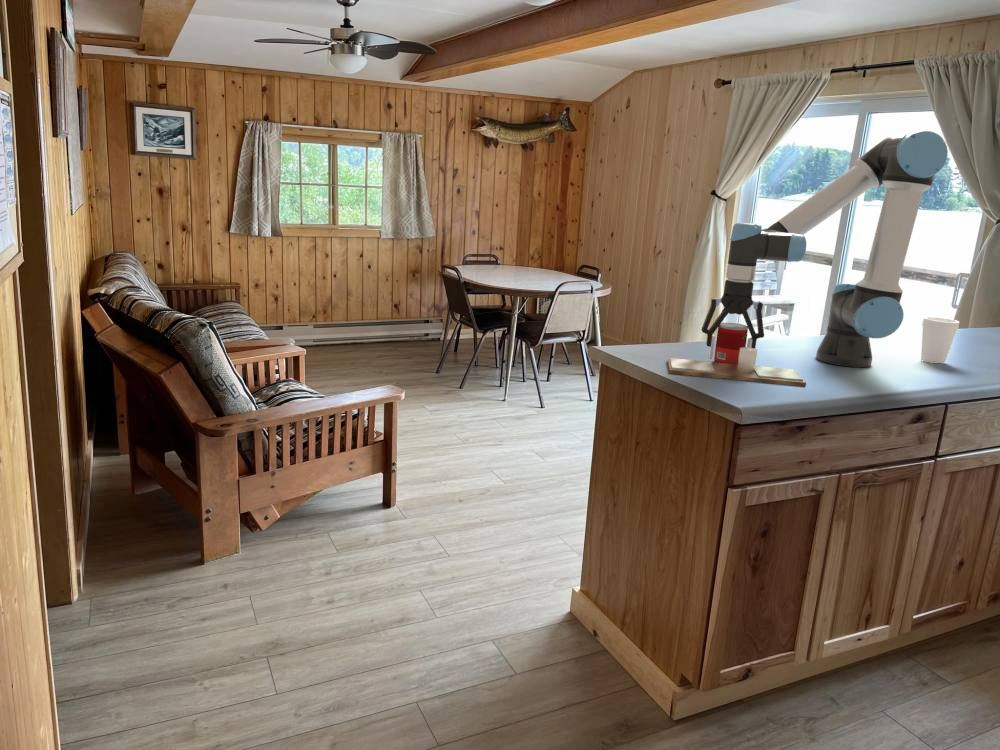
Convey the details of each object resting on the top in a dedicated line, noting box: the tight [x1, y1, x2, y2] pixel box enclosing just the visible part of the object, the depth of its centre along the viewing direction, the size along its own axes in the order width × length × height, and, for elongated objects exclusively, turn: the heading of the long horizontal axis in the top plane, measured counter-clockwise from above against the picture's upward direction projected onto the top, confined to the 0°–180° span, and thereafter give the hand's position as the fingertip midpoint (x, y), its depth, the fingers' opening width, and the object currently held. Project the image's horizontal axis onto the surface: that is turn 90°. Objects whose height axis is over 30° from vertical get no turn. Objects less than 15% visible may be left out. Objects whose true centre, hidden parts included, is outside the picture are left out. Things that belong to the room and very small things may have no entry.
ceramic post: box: [737, 346, 758, 373], centre depth 197 cm, size 4×4×6 cm
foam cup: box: [920, 316, 960, 364], centre depth 226 cm, size 10×9×13 cm
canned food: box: [713, 322, 749, 364], centre depth 209 cm, size 8×8×11 cm
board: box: [667, 357, 807, 387], centre depth 199 cm, size 34×14×1 cm, turn 80°
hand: (728, 359), depth 210 cm, fingers open, 9 cm apart
